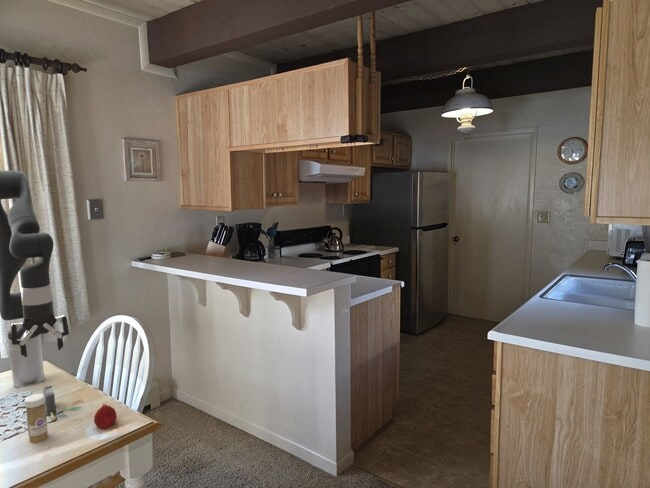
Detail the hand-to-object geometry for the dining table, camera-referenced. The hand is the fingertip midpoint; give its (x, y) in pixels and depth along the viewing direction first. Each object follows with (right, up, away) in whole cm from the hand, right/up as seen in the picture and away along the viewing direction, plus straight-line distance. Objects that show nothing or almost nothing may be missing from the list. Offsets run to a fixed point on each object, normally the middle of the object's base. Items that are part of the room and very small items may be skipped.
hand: (42, 352), depth 130 cm
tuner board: (+3, -20, +4) cm, 21 cm away
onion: (+22, -21, -5) cm, 31 cm away
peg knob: (+1, -19, +2) cm, 19 cm away
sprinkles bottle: (+6, -22, -11) cm, 26 cm away
